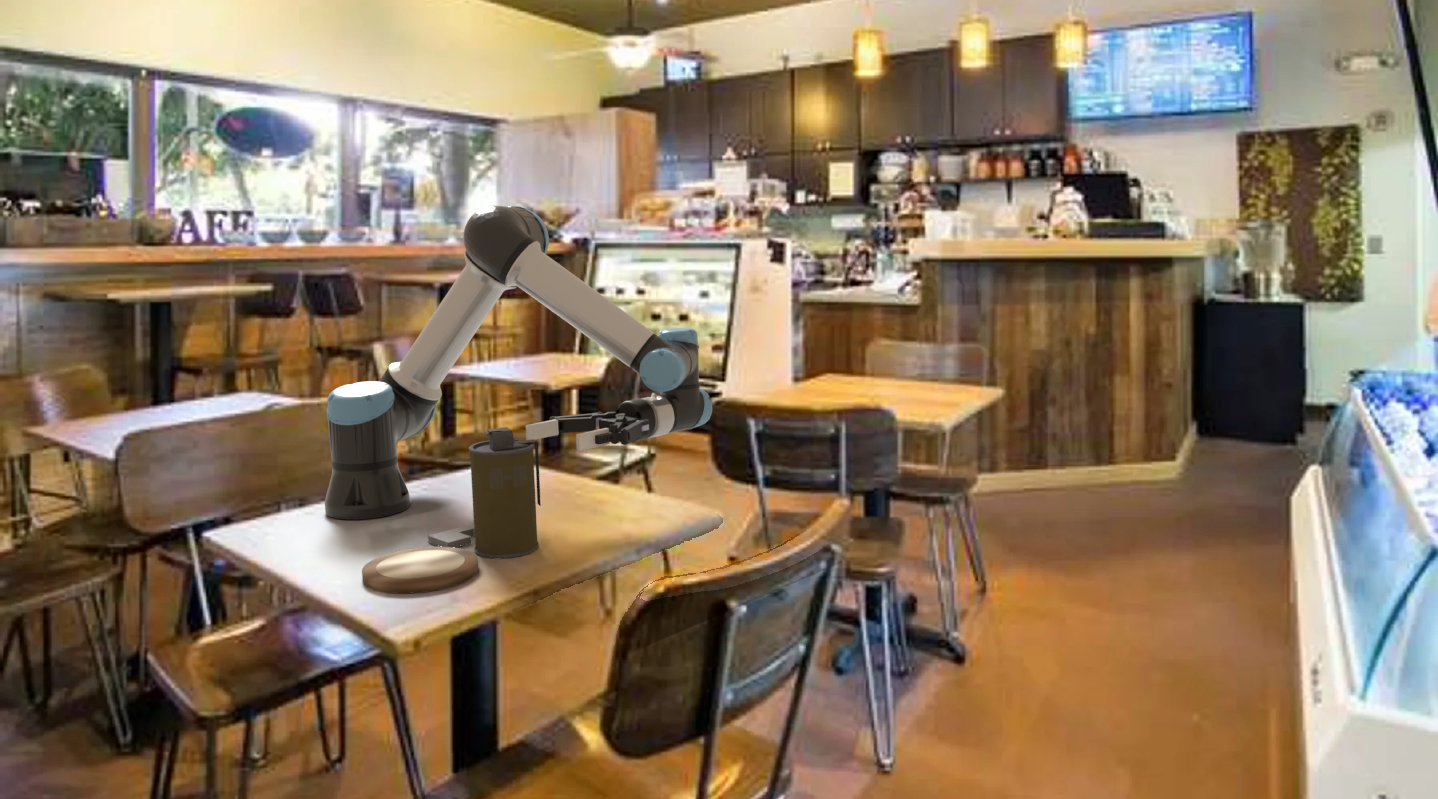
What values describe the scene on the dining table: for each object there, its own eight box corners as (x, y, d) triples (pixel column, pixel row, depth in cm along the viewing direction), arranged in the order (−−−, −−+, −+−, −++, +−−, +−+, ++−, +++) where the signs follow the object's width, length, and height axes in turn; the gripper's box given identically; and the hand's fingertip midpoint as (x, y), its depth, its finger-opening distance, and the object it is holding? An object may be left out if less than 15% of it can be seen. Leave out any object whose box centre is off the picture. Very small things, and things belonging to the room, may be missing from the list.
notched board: (428, 542, 168) (428, 535, 167) (486, 526, 176) (486, 520, 176) (448, 549, 164) (447, 542, 163) (507, 533, 172) (506, 526, 172)
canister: (480, 562, 157) (474, 438, 154) (469, 544, 167) (462, 426, 163) (548, 553, 161) (543, 431, 158) (533, 535, 171) (528, 420, 167)
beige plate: (341, 575, 152) (340, 565, 152) (439, 548, 164) (439, 539, 164) (400, 602, 140) (399, 591, 140) (500, 571, 153) (500, 561, 153)
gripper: (598, 392, 191) (506, 408, 176) (691, 404, 175) (599, 423, 159) (599, 430, 193) (508, 450, 177) (693, 446, 176) (601, 469, 160)
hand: (551, 437), depth 168 cm, fingers open, 13 cm apart
